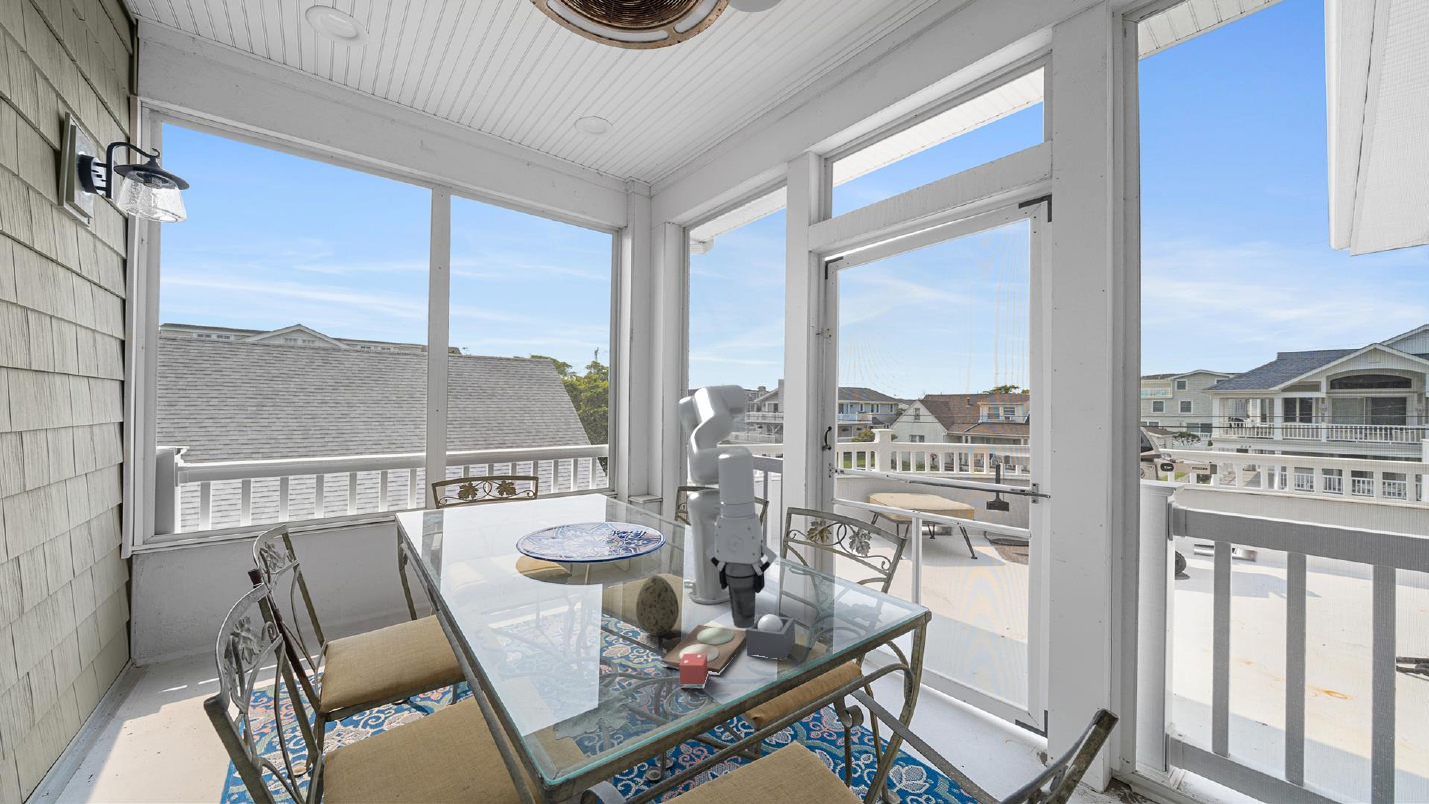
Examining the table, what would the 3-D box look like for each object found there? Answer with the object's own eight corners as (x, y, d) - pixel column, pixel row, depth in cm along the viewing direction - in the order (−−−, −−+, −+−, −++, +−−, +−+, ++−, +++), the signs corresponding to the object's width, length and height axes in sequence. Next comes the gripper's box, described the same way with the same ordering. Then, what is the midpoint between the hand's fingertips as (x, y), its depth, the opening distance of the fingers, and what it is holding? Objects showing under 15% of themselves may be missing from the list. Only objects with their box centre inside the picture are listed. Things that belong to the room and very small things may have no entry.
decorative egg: (633, 630, 151) (629, 573, 150) (673, 622, 155) (669, 566, 154) (643, 647, 141) (639, 586, 140) (685, 637, 145) (682, 578, 144)
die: (680, 688, 121) (679, 664, 120) (685, 676, 126) (683, 653, 125) (704, 689, 120) (702, 664, 120) (708, 676, 125) (706, 653, 125)
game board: (662, 667, 130) (661, 659, 130) (698, 630, 148) (698, 623, 148) (719, 676, 125) (718, 667, 125) (750, 637, 143) (749, 630, 143)
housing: (746, 655, 133) (745, 629, 133) (759, 638, 142) (758, 614, 141) (784, 660, 130) (783, 634, 130) (795, 643, 138) (794, 618, 138)
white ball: (754, 644, 134) (753, 619, 134) (763, 633, 140) (761, 609, 139) (779, 647, 132) (778, 621, 132) (787, 636, 137) (785, 611, 137)
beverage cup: (725, 618, 130) (721, 530, 129) (757, 615, 131) (753, 528, 130) (729, 632, 123) (724, 540, 122) (763, 629, 123) (758, 537, 122)
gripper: (694, 511, 125) (698, 591, 126) (771, 515, 118) (775, 600, 119) (708, 503, 132) (712, 579, 133) (781, 506, 125) (785, 586, 126)
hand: (742, 588), depth 126 cm, fingers closed on beverage cup, 7 cm apart
